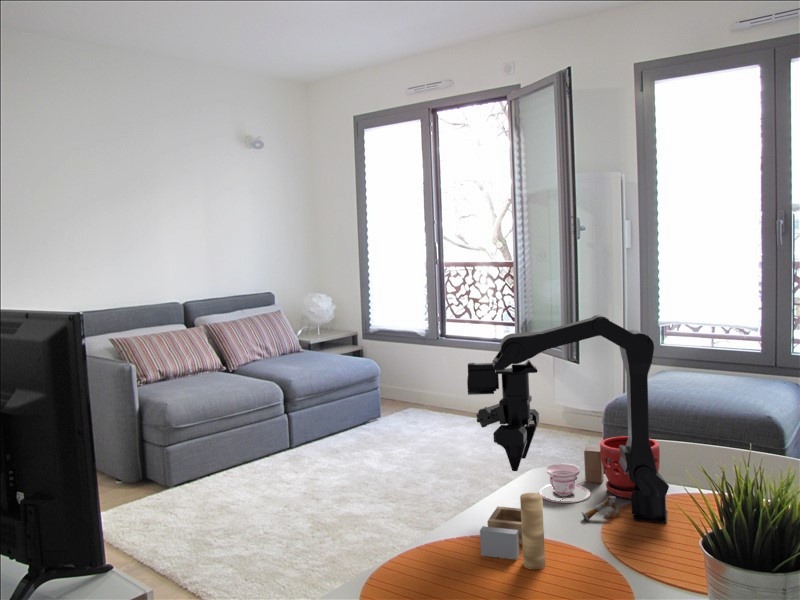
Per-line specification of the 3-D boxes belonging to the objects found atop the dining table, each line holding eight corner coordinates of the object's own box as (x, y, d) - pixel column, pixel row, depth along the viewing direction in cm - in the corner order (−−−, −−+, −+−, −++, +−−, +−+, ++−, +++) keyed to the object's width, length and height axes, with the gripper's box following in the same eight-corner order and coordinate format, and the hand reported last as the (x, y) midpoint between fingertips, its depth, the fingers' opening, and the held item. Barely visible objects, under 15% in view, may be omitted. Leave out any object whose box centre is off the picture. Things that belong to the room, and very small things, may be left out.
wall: (519, 555, 132) (518, 530, 131) (517, 559, 130) (515, 534, 129) (484, 551, 134) (482, 526, 134) (481, 555, 132) (479, 530, 132)
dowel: (547, 561, 128) (544, 493, 127) (543, 570, 125) (539, 501, 124) (526, 558, 130) (522, 491, 129) (521, 568, 126) (518, 499, 125)
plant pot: (670, 489, 160) (669, 439, 159) (644, 506, 151) (642, 453, 150) (618, 478, 170) (617, 431, 169) (591, 494, 161) (589, 444, 160)
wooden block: (601, 483, 167) (600, 451, 166) (585, 482, 169) (583, 450, 168) (603, 478, 171) (602, 446, 170) (587, 477, 172) (586, 445, 172)
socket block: (535, 528, 143) (534, 509, 143) (527, 544, 136) (526, 525, 136) (498, 524, 146) (497, 506, 146) (488, 540, 139) (487, 521, 139)
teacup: (557, 482, 170) (556, 457, 170) (600, 493, 161) (599, 467, 161) (528, 496, 162) (527, 470, 162) (571, 508, 153) (570, 481, 153)
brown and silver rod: (624, 512, 147) (615, 495, 146) (593, 532, 145) (584, 514, 145) (620, 509, 148) (611, 492, 148) (589, 529, 147) (580, 511, 147)
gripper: (489, 383, 158) (492, 449, 160) (467, 402, 141) (471, 476, 142) (538, 384, 154) (541, 452, 156) (521, 403, 137) (524, 480, 138)
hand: (519, 464), depth 148 cm, fingers open, 8 cm apart
